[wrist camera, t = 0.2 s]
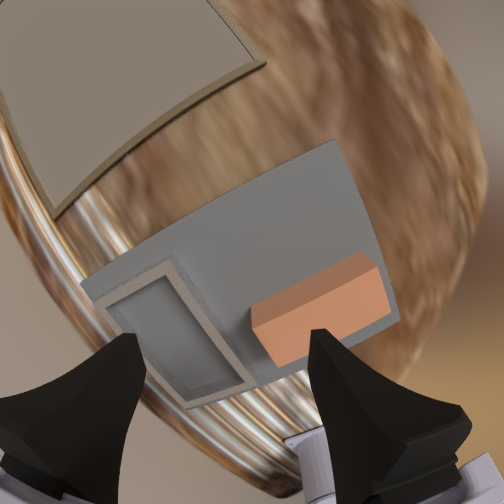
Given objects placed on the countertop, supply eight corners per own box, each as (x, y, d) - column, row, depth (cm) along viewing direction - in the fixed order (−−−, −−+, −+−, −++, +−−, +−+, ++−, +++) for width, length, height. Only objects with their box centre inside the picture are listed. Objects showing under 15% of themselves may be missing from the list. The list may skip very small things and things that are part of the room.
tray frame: (257, 372, 23) (258, 384, 22) (186, 397, 24) (184, 408, 23) (173, 251, 19) (168, 259, 18) (100, 294, 20) (92, 303, 19)
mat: (399, 317, 22) (400, 319, 22) (187, 408, 25) (187, 410, 25) (333, 139, 17) (335, 139, 17) (81, 281, 20) (79, 283, 20)
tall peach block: (375, 293, 21) (391, 312, 18) (274, 343, 22) (278, 367, 19) (360, 251, 20) (377, 266, 17) (250, 306, 21) (252, 328, 18)
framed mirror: (-17, 26, 11) (60, 216, 19) (-22, 25, 10) (53, 219, 18) (118, -87, 8) (266, 65, 16) (115, -92, 7) (267, 61, 15)
